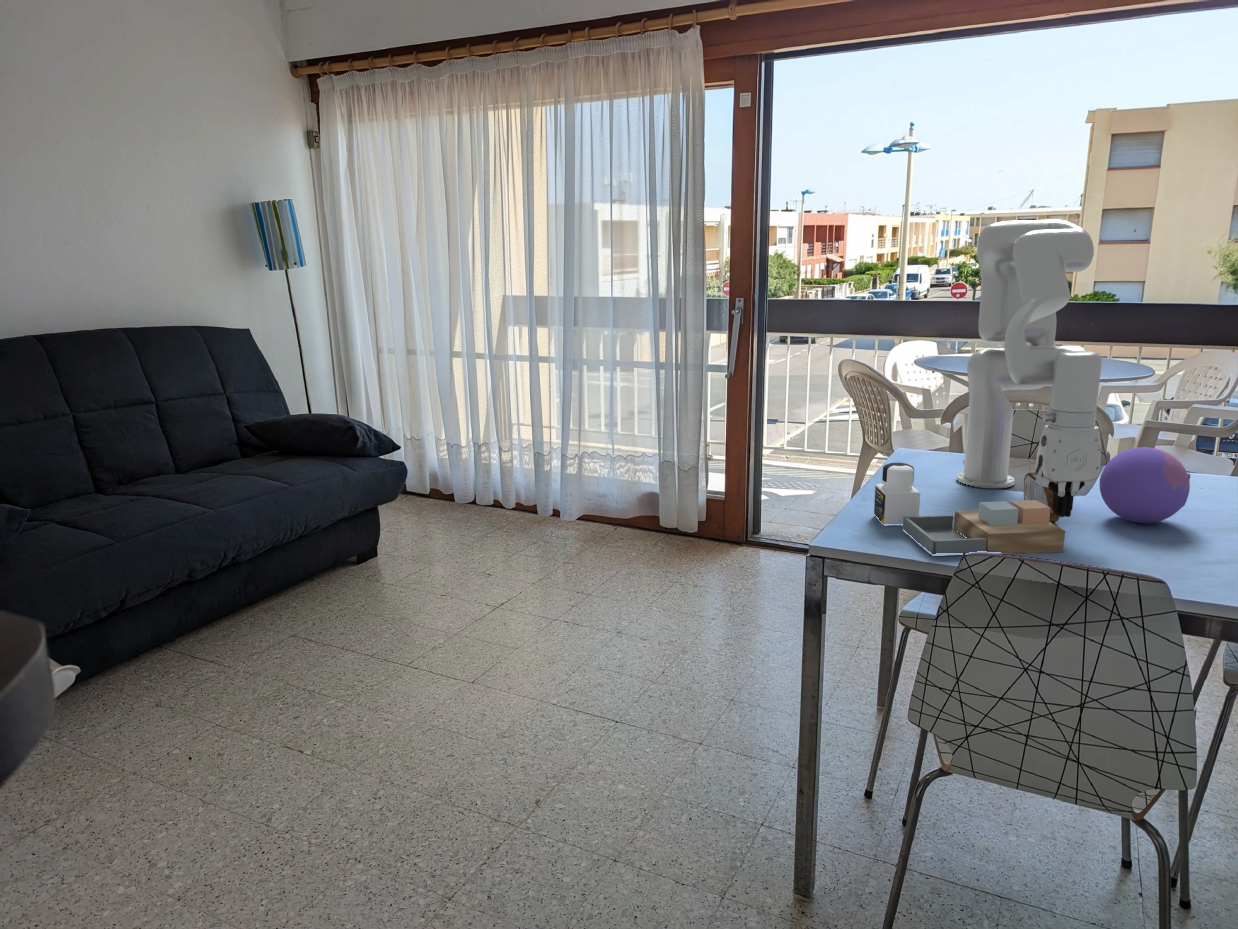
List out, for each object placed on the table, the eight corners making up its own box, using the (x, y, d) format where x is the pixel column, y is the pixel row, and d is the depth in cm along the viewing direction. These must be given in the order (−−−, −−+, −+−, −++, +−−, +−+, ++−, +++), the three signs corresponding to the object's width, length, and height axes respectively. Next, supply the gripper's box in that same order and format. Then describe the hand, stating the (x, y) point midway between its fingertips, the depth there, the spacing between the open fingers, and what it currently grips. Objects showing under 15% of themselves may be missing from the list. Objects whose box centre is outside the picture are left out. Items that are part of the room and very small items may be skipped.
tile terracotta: (1009, 516, 156) (1010, 501, 155) (1034, 515, 156) (1036, 500, 155) (1022, 524, 151) (1023, 508, 150) (1049, 523, 151) (1050, 507, 150)
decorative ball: (1196, 535, 154) (1208, 458, 150) (1107, 530, 158) (1116, 455, 154) (1168, 512, 168) (1178, 441, 164) (1086, 508, 172) (1094, 439, 168)
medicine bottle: (873, 516, 171) (876, 460, 168) (907, 515, 171) (911, 460, 168) (882, 526, 164) (885, 469, 161) (918, 526, 164) (922, 468, 161)
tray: (902, 531, 161) (903, 516, 160) (950, 529, 161) (952, 514, 161) (932, 557, 147) (933, 541, 146) (985, 554, 147) (986, 539, 147)
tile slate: (978, 517, 156) (979, 502, 155) (1003, 516, 156) (1005, 501, 155) (990, 525, 151) (991, 509, 150) (1017, 524, 151) (1018, 508, 150)
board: (953, 530, 161) (954, 510, 160) (1023, 527, 161) (1025, 508, 160) (986, 554, 147) (988, 533, 146) (1063, 551, 148) (1065, 530, 147)
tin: (1061, 527, 161) (1065, 486, 159) (1044, 527, 161) (1048, 486, 159) (1034, 505, 175) (1038, 467, 173) (1019, 505, 176) (1022, 467, 174)
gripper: (1042, 424, 145) (1033, 522, 150) (1124, 421, 146) (1112, 519, 150) (1020, 416, 152) (1012, 510, 157) (1098, 413, 153) (1088, 507, 157)
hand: (1061, 514), depth 153 cm, fingers closed
